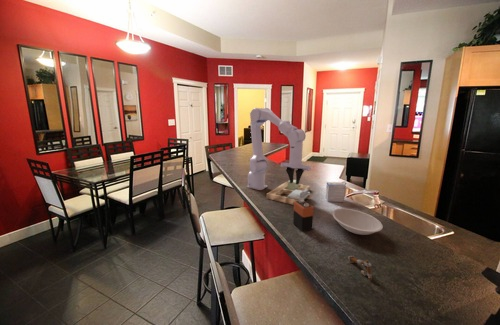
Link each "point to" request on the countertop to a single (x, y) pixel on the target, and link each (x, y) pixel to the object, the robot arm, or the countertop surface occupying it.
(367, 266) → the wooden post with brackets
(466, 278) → the countertop surface
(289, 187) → the block
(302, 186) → the puzzle board
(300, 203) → the battery
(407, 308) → the countertop surface
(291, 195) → the lid
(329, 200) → the medicine box
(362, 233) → the dish
